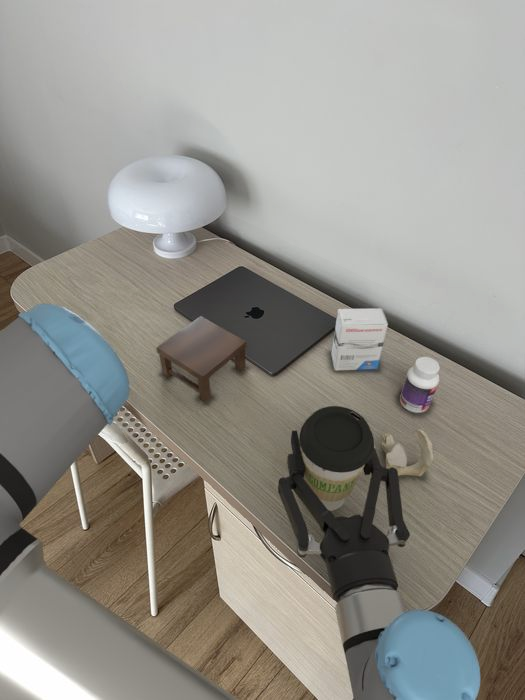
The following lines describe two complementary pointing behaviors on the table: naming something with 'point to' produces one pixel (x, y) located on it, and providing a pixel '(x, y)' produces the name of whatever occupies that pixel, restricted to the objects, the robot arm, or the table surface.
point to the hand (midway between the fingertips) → (325, 433)
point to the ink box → (358, 338)
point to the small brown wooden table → (201, 353)
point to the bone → (398, 455)
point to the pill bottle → (420, 385)
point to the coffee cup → (334, 452)
